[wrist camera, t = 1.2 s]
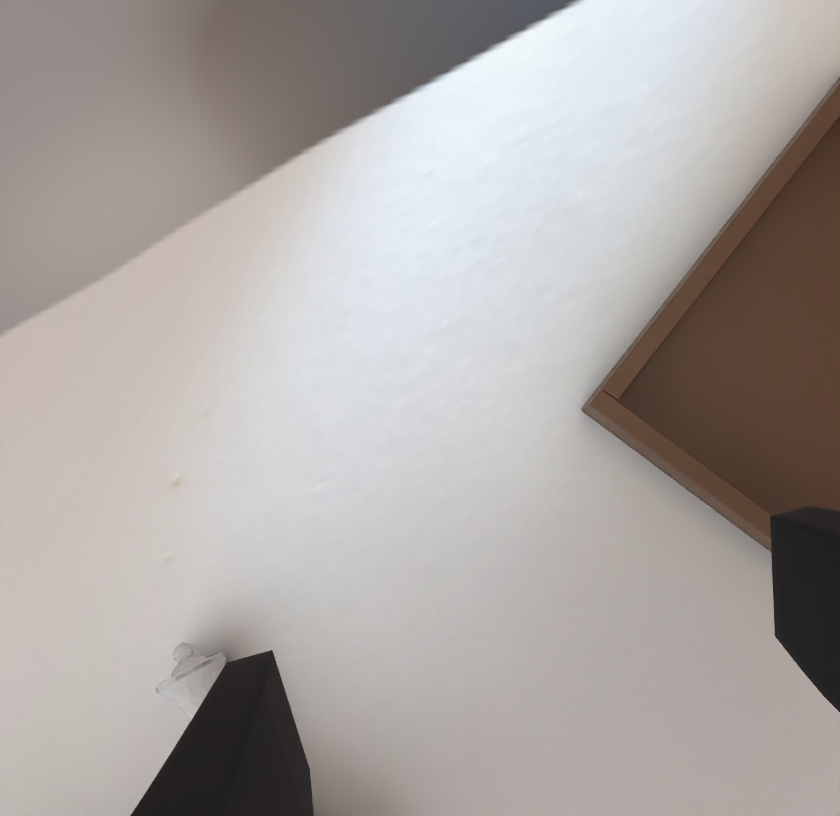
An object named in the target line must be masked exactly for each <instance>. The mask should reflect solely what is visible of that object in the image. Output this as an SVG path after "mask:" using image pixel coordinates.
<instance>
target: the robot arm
mask: <svg viewBox="0 0 840 816" xmlns="http://www.w3.org/2000/svg"><path fill="white" fill-rule="evenodd" d="M770 527H771V551H772V575H773V599H774V623H775V636H776V638H777V639H778V640H779V642H780V643H781V644H782V645H783V647H784V648H785V649H786V650H787V652H788V653H789V654H790V656H791V657H792V658H793V659H794V661H795V662H796V663H797V665H798V666H799V667H800V668H801V670H802V671H803V672H804V673H805V674H806V676H807V677H808V678H809V679H810V680H811V682H812V683H813V684H814V685H815V686H816V687H817V689H818V690H819V691H820V692H821V693H822V695H823V696H824V697H825V698H826V699H827V700H828V701H829V702H830V703H831V704H832V705H833V706H834V707H835V708H836V709H837V710H838V711H839V712H840V511H836V510H831V509H826V508H820V507H814V506H807V507H803V508H799V509H795V510H792V511H788V512H784V513H781V514H777V515H773V516H770ZM130 816H313V803H312V791H311V779H310V769H309V766H308V762H307V759H306V756H305V753H304V750H303V747H302V743H301V740H300V737H299V734H298V731H297V727H296V724H295V721H294V718H293V715H292V711H291V708H290V705H289V702H288V699H287V696H286V692H285V689H284V686H283V683H282V680H281V676H280V673H279V670H278V667H277V664H276V661H275V657H274V654H273V651H272V650H271V651H268V652H264V653H260V654H257V655H253V656H249V657H245V658H242V659H238V660H234V661H231V662H227V663H226V665H225V666H224V668H223V669H222V671H221V672H220V674H219V676H218V677H217V679H216V680H215V682H214V683H213V685H212V687H211V688H210V690H209V692H208V693H207V695H206V697H205V698H204V700H203V702H202V703H201V705H200V707H199V708H198V710H197V712H196V713H195V715H194V717H193V718H192V720H191V722H190V723H189V725H188V726H187V728H186V730H185V731H184V733H183V735H182V736H181V738H180V740H179V741H178V743H177V744H176V746H175V748H174V749H173V751H172V752H171V754H170V756H169V757H168V759H167V760H166V762H165V763H164V765H163V766H162V768H161V770H160V771H159V773H158V774H157V776H156V777H155V779H154V781H153V782H152V784H151V785H150V787H149V788H148V790H147V792H146V793H145V795H144V796H143V798H142V799H141V801H140V802H139V804H138V805H137V807H136V808H135V810H134V811H133V813H132V814H131V815H130Z"/></svg>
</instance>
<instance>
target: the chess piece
mask: <svg viewBox="0 0 840 816" xmlns="http://www.w3.org/2000/svg"><path fill="white" fill-rule="evenodd" d="M193 653H194V651H193V647H192V646H191V645H190V644H187V643H181V644H179V645H178V646H177V647H176V648H175V650H174V652H173V657H174V659H175V660H176V661H177V662H178V663H179V664H178V665H177V667H176V668H175V669H174V670H173V672H172V675H171V677H170V678H168V679H167V680H165V681H163V682H162V683H160V684H159V685H158V686H157V687H156V691H157V694H158V695H160V696H162V697H165V698H167V699H168V700H170V701H171V702H173V703H174V704H175V705H177V706H178V707H179V708H180V709H182V710H183V711H184V713H185V715H186V716H187V718H188V720H189V722H191V720H192V718H193V717H194V715H195V713H196V712H197V710H198V708H199V707H200V705H201V703H202V702H203V700H204V698H205V697H206V695H207V693H208V692H209V690H210V688H211V687H212V685H213V683H214V682H215V680H216V679H217V677H218V676H219V674H220V672H221V671H222V669H223V668H224V665H225V662H226V656H225V654H224V653H223V652H221V653H218V654H215V655H213V656H211V657H209V658H206V657H204V656H201V655H200V656H193Z"/></svg>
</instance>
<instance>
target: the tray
mask: <svg viewBox="0 0 840 816" xmlns="http://www.w3.org/2000/svg"><path fill="white" fill-rule="evenodd" d="M581 410H582V411H583V412H584V413H586V414H587V415H588V416H590V417H591V418H592V419H594V420H595V421H596V422H598V423H599V424H600V425H602V426H603V427H604V428H606V429H607V430H608V431H610V432H611V433H612V434H614V435H615V436H616V437H618V438H619V439H620V440H622V441H623V442H625V443H626V444H627V445H629V446H630V447H631V448H633V449H634V450H635V451H637V452H638V453H639V454H641V455H642V456H643V457H645V458H646V459H647V460H649V461H650V462H651V463H653V464H654V465H655V466H657V467H658V468H659V469H661V470H662V471H663V472H665V473H666V474H667V475H669V476H670V477H671V478H673V479H674V480H675V481H677V482H678V483H679V484H681V485H682V486H683V487H685V488H686V489H687V490H689V491H690V492H691V493H693V494H694V495H695V496H697V497H698V498H700V499H701V500H702V501H704V502H705V503H706V504H708V505H709V506H710V507H712V508H713V509H714V510H716V511H717V512H718V513H720V514H721V515H722V516H724V517H725V518H726V519H728V520H729V521H730V522H732V523H733V524H734V525H736V526H737V527H738V528H740V529H741V530H742V531H744V532H745V533H746V534H748V535H749V536H750V537H752V538H753V539H754V540H756V541H757V542H758V543H760V544H761V545H762V546H764V547H765V548H766V549H768V550H769V551H770V552H772V551H771V527H770V516H773V515H777V514H781V513H784V512H788V511H792V510H795V509H799V508H803V507H807V506H814V507H820V508H826V509H831V510H836V511H840V78H839V79H838V80H837V81H836V83H835V84H834V85H833V87H832V88H831V89H830V90H829V92H828V93H827V94H826V96H825V97H824V98H823V99H822V101H821V102H820V103H819V105H818V106H817V107H816V108H815V110H814V111H813V112H812V114H811V115H810V116H809V117H808V119H807V120H806V121H805V123H804V124H803V125H802V126H801V128H800V129H799V130H798V132H797V133H796V134H795V135H794V137H793V138H792V139H791V140H790V142H789V143H788V144H787V146H786V147H785V148H784V149H783V151H782V152H781V153H780V155H779V156H778V157H777V158H776V160H775V161H774V162H773V164H772V165H771V166H770V167H769V169H768V170H767V171H766V173H765V174H764V175H763V176H762V178H761V179H760V180H759V182H758V183H757V184H756V185H755V187H754V188H753V189H752V191H751V192H750V193H749V194H748V196H747V197H746V198H745V200H744V201H743V202H742V203H741V205H740V206H739V207H738V208H737V210H736V211H735V212H734V214H733V215H732V216H731V217H730V219H729V220H728V221H727V223H726V224H725V225H724V226H723V228H722V229H721V230H720V232H719V233H718V234H717V235H716V237H715V238H714V239H713V241H712V242H711V243H710V244H709V246H708V247H707V248H706V250H705V251H704V252H703V253H702V255H701V256H700V257H699V259H698V260H697V261H696V262H695V264H694V265H693V266H692V268H691V269H690V270H689V271H688V273H687V274H686V275H685V277H684V278H683V279H682V280H681V282H680V283H679V284H678V285H677V287H676V288H675V289H674V291H673V292H672V293H671V294H670V296H669V297H668V298H667V300H666V301H665V302H664V303H663V305H662V306H661V307H660V309H659V310H658V311H657V312H656V314H655V315H654V316H653V318H652V319H651V320H650V321H649V323H648V324H647V325H646V327H645V328H644V329H643V330H642V332H641V333H640V334H639V336H638V337H637V338H636V339H635V341H634V342H633V343H632V345H631V346H630V347H629V348H628V350H627V351H626V352H625V353H624V355H623V356H622V357H621V359H620V360H619V361H618V362H617V364H616V365H615V366H614V368H613V369H612V370H611V371H610V373H609V374H608V375H607V377H606V378H605V379H604V380H603V382H602V383H601V384H600V386H599V387H598V388H597V389H596V391H595V392H594V393H593V395H592V396H591V397H590V398H589V400H588V401H587V402H586V404H585V405H584V406H583V407H582V409H581Z"/></svg>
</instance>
